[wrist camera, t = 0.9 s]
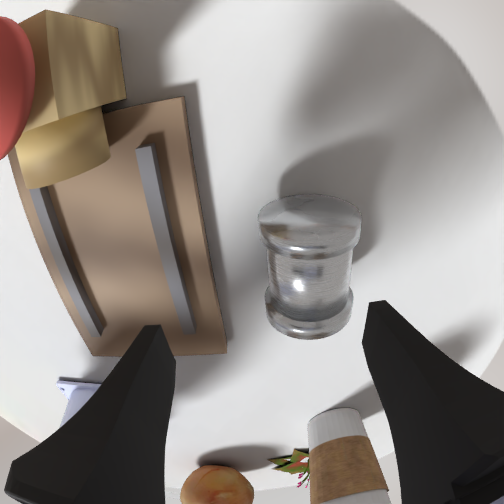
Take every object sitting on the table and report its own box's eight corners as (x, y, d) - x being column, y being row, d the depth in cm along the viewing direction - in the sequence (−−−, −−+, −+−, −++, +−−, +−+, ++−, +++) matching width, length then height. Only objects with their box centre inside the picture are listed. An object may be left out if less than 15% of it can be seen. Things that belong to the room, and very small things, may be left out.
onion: (169, 457, 35) (164, 521, 27) (240, 452, 34) (242, 522, 26) (198, 477, 40) (197, 532, 32) (260, 473, 39) (263, 531, 31)
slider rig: (227, 343, 23) (226, 450, 16) (96, 347, 23) (65, 437, 16) (173, 4, 12) (109, -56, 4) (2, 66, 12) (-108, 92, 4)
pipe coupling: (339, 278, 20) (361, 332, 16) (263, 286, 21) (269, 344, 16) (344, 191, 17) (377, 234, 13) (255, 198, 17) (261, 245, 13)
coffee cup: (371, 424, 32) (399, 532, 20) (304, 442, 34) (319, 552, 21) (368, 392, 28) (405, 527, 15) (287, 415, 29) (303, 552, 17)
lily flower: (357, 455, 39) (363, 480, 35) (285, 475, 42) (287, 499, 38) (339, 431, 33) (346, 462, 30) (251, 454, 36) (252, 484, 32)
